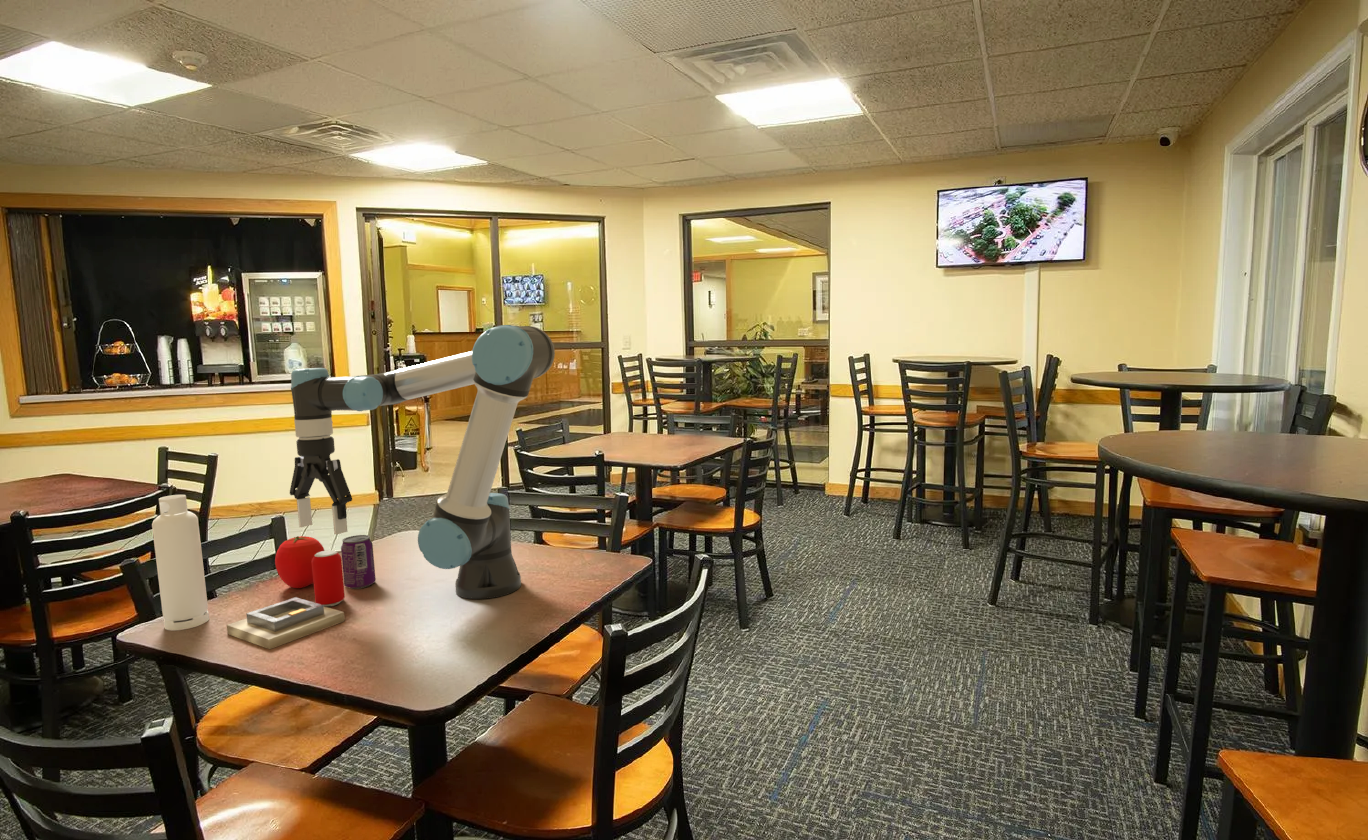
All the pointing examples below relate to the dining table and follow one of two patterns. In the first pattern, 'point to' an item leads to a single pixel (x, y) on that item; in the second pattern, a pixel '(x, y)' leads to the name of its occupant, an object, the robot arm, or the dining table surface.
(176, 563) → the bottle
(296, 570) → the tomato
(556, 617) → the dining table surface
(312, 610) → the frame
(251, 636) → the hub board
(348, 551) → the beverage can
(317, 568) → the beverage can
